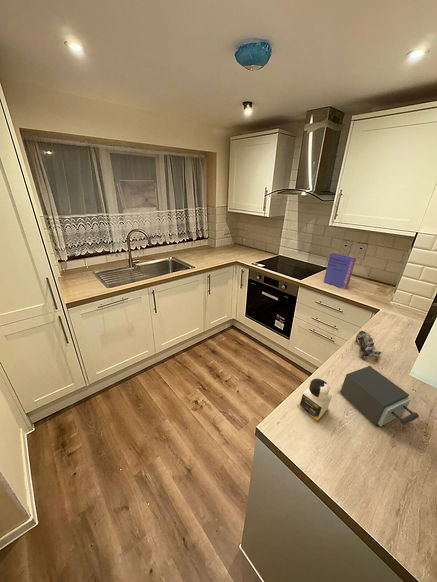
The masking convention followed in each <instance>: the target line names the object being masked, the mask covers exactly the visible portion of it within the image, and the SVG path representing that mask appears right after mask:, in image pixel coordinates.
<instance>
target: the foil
mask: <svg viewBox="0 0 437 582" xmlns="http://www.w3.org/2000/svg"><path fill="white" fill-rule="evenodd" d="M355 336H356V337H355V343H356V344H358V345H359V349H358V350H359V358H360V359H363V358H365V357H367V358H369V359H370V358H371V356H372V357H374V360H375V361H376V362H378V359H379V356H380V355H381V354H382V351H377V350H378V349H377V348H376V347H375V341H374V338H373V337H372V335H371V334H370V333H368V332H366V331H364V330H361V331H358V333H356V335H355Z"/></svg>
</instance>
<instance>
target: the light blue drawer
mask: <svg viewBox="0 0 437 582" xmlns="http://www.w3.org/2000/svg"><path fill="white" fill-rule="evenodd" d="M410 402H411V399H410V398H409V396H408V397H406V398H404V399H402V400H400V401H397V402H395V403H393V404H391V405H389V406H387V407H385V408H384V411H383V413H382V415H381V417H380V419H379V421H378V423H377V425H378V426H379V427H383V426H384V425H386V424H388V423H390V422H393V421H394V420H396V419H398V420H399V423H400V425H402V426H406V425H407V424H410V423H411V422H413V421H415V420H416V419H419V418H420V415H419V413H418V412H414V411H412V410H411V409H410V408H409V407H408V406H409V404H410ZM405 411H407V412H408V413H409V414H408V415H407V416H404V417H403V418H402V416H403V415H404V413H405Z"/></svg>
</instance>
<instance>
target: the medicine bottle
mask: <svg viewBox="0 0 437 582" xmlns="http://www.w3.org/2000/svg"><path fill="white" fill-rule="evenodd" d="M330 389H331V388H330V385H329V384H328V383H327V382H326V381H325V380H324V379H322V378H313V379H311V381H310V384H309V387H308V388H306V390H304V391H303V393H302V395H301V399H300V403H299V408H300V409H302V410H303V411H304V412H305V413H306V414H307V415H309V416H311V418H313V419H314V420H316V421H319V420H320V418H321V417H322V416H323V415H324V414H325V413H327V411H328V409H329V406H330V403H331V400H332V394H331V393H329V392H330Z"/></svg>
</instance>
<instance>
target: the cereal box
mask: <svg viewBox="0 0 437 582" xmlns="http://www.w3.org/2000/svg"><path fill="white" fill-rule="evenodd" d="M356 260H357V258H355V257H350V256H347V255H342V254H338V253H333V252H332V253H330V254H329V257H328V261H327V266H326V270H325V273H324V278H323V283H324V284H328V285H330V286H334V287H337V288H339V289H343V290H346V289H348V287H349V284H350V281H351V278H352V273H353V270H354V267H355V264H356Z"/></svg>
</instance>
